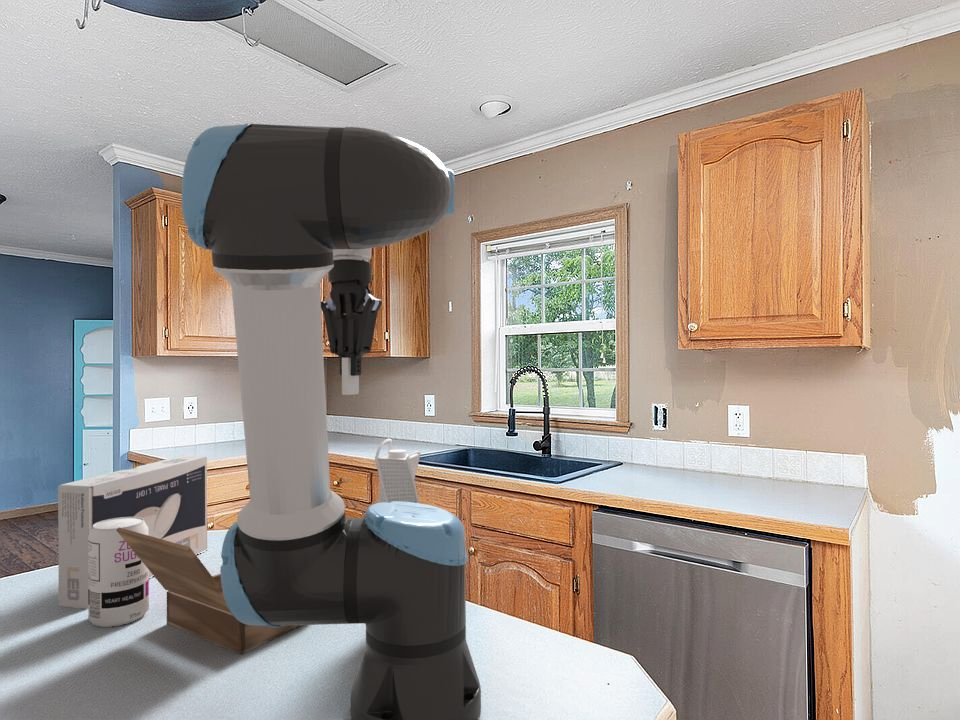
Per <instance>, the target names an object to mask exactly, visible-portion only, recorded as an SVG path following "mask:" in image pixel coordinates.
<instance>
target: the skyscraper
mask: <svg viewBox="0 0 960 720" xmlns="http://www.w3.org/2000/svg"><path fill="white" fill-rule="evenodd" d="M387 442H389V444H388V450H387V451H388V452H387V454H384V455H382V456H379V455H380V452H381V449H382V447H383V446H384V444H386V443H387ZM392 446H393V440H392V439H391V438H390V437H389V438H386V439H383V441H382V442H381V443H380V444H379V446H378V447H377V450H376V452H375V456H374V460H375V464H376V469H377V473H378V478H379V482H380V484H379V485H380V486H379V490H378V496H377V502H376V503H381V502H387V503H390V502H392V501H402V502H414V503H420V499H419V495H418V494H419V493H418V490H417V486H416V481H415V479H416V478H415V477H416V475H417V470H418V466H419V462H420V458H421V452H420V450H413V451H412V452H410V453H407V450H406V449H392Z"/></svg>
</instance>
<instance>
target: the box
mask: <svg viewBox="0 0 960 720" xmlns="http://www.w3.org/2000/svg"><path fill="white" fill-rule="evenodd" d="M211 576H212V577H213V578H214V580H215V581H216V582H217V584H218V585H219V586H220V588H221V589H222V584H221V573H218V574H214V575H211ZM166 624H167V625H168V624H169V625H168V626H170V625H171V626H170V627H173V628H175V627H176V628H175V629H178V628H179V629H178V630H180V629H181V630H180V631H182V630H183V632H185V633H187V632H188V634H190V635H192V636H196V637H197V638H200V639H202V640H204V641H208V642H210V643H211V644H214V645H217V646H219V647H222V648H225V649H226V650H228V651H229V650H230V651H231V652H234V653H237V654H239V655H243V654H246V653H248V652H250V651H252V650H254V649H256V648H258V647H260V646H263V645H265V644H266V643H269V642H270V641H273V640H274V639H277V638H279V637H281V636H284V635H285V634H288V633H289V632H292V631H293V630H296V629H297V628H300V627H302V626H303V625H288V626H283V627H278V628H275V627H268V626H258V625H247V624H244V623H241V622H240V621H238V620H237V619H236V618H235V617H234V616H233V615H232V614H231V613H229V612H227V611H224V610H221V609H218V608H215V607H213V606H210V605H207V604H204V603H201V602H199V601H196V600H193V599H190V598H187V597H185V596H182V595H179V594H176V593H174V592H171V591H168V590H166Z"/></svg>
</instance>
